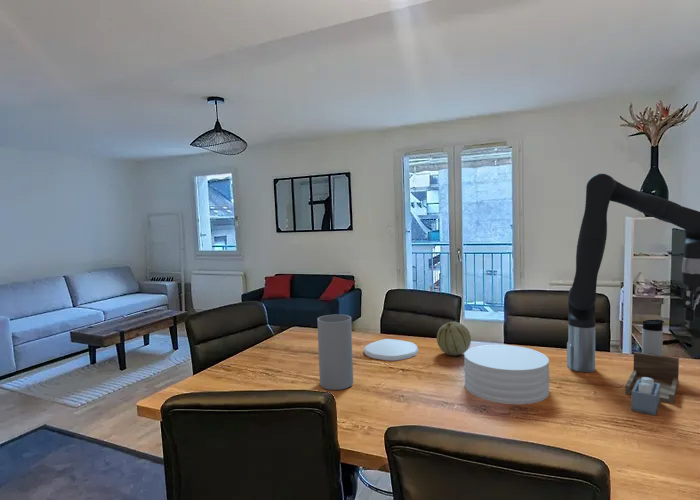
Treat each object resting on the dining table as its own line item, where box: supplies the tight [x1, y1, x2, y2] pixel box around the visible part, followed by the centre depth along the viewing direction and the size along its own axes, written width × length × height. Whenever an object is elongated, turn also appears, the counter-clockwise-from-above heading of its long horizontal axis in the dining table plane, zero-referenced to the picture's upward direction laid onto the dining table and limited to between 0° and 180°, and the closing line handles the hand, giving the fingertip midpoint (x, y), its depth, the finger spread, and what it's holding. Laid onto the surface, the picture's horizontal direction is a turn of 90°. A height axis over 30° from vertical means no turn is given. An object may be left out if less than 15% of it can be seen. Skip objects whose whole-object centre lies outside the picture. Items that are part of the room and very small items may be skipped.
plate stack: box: [463, 344, 550, 405], centre depth 151 cm, size 28×28×12 cm
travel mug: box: [641, 319, 665, 356], centre depth 160 cm, size 6×7×20 cm
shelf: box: [624, 351, 680, 405], centre depth 145 cm, size 20×13×9 cm, turn 139°
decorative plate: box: [363, 338, 419, 361], centre depth 197 cm, size 25×4×25 cm
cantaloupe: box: [436, 321, 472, 356], centre depth 188 cm, size 15×15×15 cm
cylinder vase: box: [316, 314, 354, 391], centre depth 158 cm, size 12×12×25 cm
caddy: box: [631, 377, 661, 417], centre depth 133 cm, size 12×6×8 cm, turn 139°
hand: (693, 318), depth 145 cm, fingers open, 8 cm apart
